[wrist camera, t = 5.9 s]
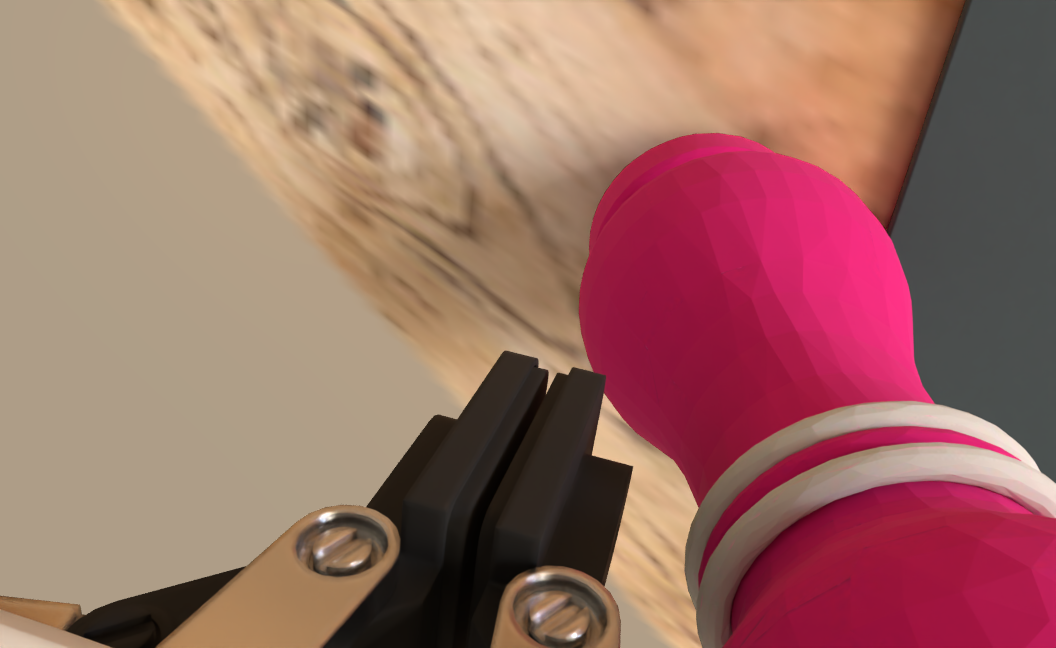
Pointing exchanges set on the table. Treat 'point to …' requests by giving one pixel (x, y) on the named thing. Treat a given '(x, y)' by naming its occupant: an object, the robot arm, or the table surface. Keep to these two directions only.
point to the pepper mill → (806, 414)
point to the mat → (988, 225)
